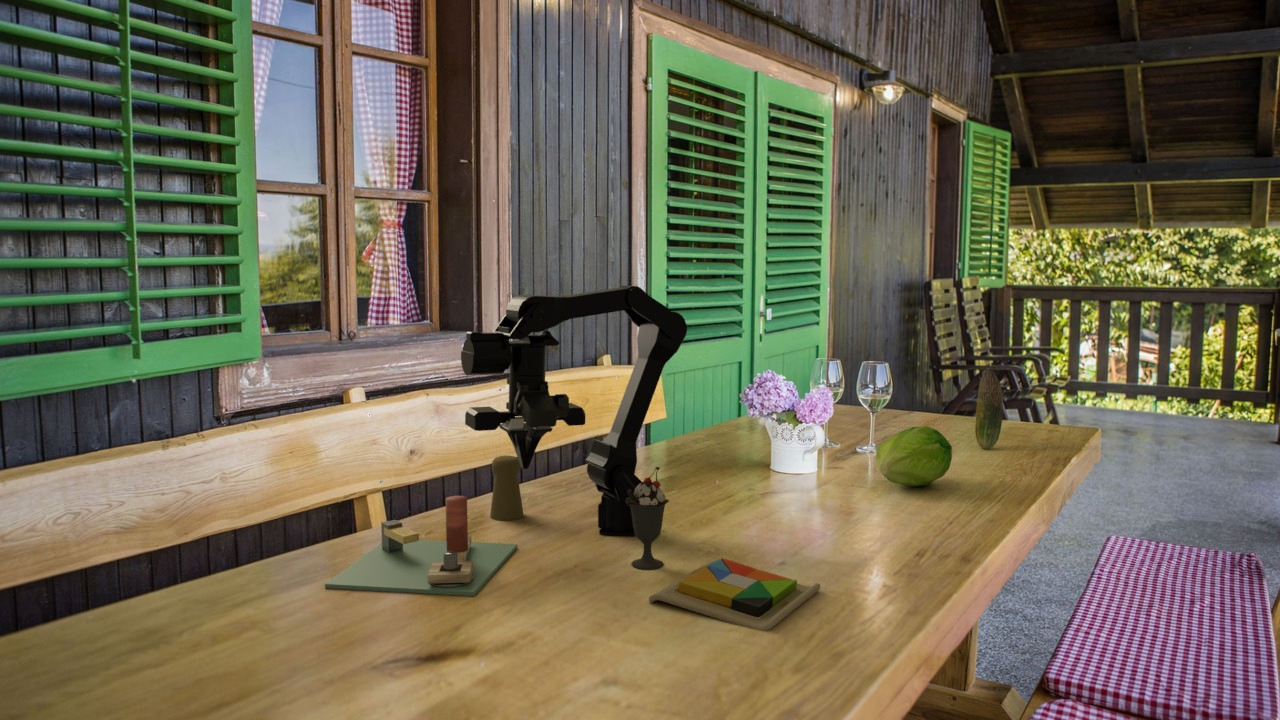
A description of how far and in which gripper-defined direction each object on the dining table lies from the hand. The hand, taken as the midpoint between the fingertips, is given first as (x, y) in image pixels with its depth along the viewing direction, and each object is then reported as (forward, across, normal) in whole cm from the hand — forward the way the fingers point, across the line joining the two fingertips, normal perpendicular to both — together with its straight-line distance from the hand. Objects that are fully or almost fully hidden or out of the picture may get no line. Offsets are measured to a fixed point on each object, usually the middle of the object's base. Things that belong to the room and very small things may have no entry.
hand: (524, 468), depth 152 cm
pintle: (+13, -16, -13) cm, 24 cm away
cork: (+13, +4, +17) cm, 22 cm away
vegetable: (+10, +129, +20) cm, 131 cm away
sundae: (+12, +13, -18) cm, 26 cm away
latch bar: (+12, -13, -7) cm, 19 cm away
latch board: (+13, -17, -4) cm, 22 cm away
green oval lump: (+10, +83, -1) cm, 84 cm away
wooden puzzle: (+12, +18, -36) cm, 42 cm away
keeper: (+13, -19, +2) cm, 24 cm away
